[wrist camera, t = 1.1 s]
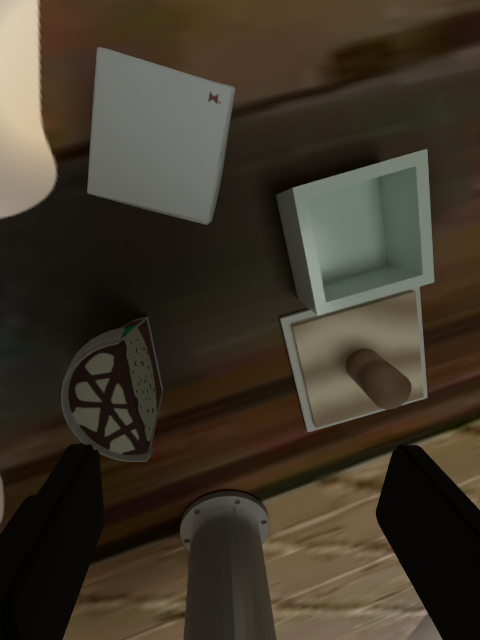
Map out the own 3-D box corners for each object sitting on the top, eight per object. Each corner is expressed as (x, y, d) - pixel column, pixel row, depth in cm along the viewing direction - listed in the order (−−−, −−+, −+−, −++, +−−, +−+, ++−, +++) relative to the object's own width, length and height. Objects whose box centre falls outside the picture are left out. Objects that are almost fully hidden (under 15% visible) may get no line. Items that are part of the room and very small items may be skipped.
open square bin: (392, 271, 33) (434, 282, 27) (297, 298, 33) (317, 315, 27) (382, 164, 29) (427, 148, 23) (275, 195, 29) (292, 187, 23)
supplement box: (147, 120, 26) (94, 35, 15) (228, 144, 28) (240, 84, 16) (136, 206, 29) (81, 193, 17) (211, 225, 30) (211, 226, 18)
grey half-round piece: (86, 309, 31) (31, 346, 22) (145, 302, 32) (116, 336, 22) (113, 408, 35) (77, 476, 26) (165, 401, 35) (148, 466, 26)
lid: (419, 393, 38) (462, 428, 31) (313, 424, 38) (334, 465, 31) (411, 290, 33) (458, 306, 27) (290, 324, 33) (309, 348, 27)
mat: (424, 395, 38) (427, 397, 38) (306, 429, 39) (307, 432, 38) (415, 278, 33) (418, 279, 33) (279, 317, 33) (280, 318, 33)
